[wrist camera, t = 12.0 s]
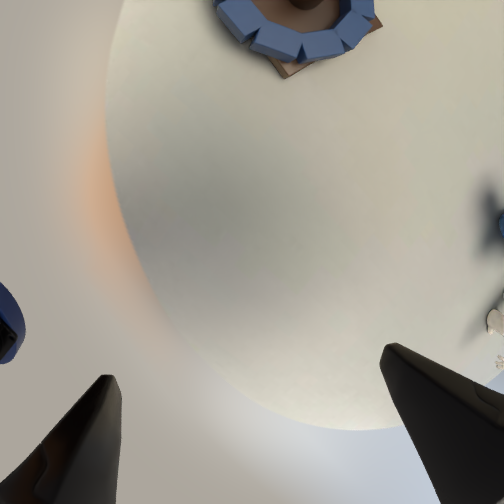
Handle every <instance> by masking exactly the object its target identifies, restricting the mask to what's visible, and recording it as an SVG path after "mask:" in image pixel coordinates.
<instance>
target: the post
mask: <svg viewBox="0 0 504 504" xmlns="http://www.w3.org/2000/svg"><path fill="white" fill-rule="evenodd" d="M251 1H252V2H253V4H254V5H255V6H256V7H257V8H258V9H259V11H260V12H261V13H262V14H263V15H264V17H265V18H266V19H267V20H268V21H271V22H274V23H277V24H279V25H282V26H285V27H287V28H290V29H292V30H295V31H297V32H300V33H306V32H313V31H320V30H328V29H329V28H330V27H331V26H332V25H333V23H334V22H335V21H336V20H337V19H338V18H339V17H340V6H339V0H251ZM369 23H371V24H372V25H373V26H372V27H371V29H370V30H369V31H368V32H367V33H366V34H368V33H371V32H373V31H375V30H377V29H379V28H381V27H383V25H382V24H381V22H380V21H379V19H378V18H377V16H376V15H375V19H373V20H371V21H369ZM366 34H365V35H366ZM253 37H254V36H253ZM253 37H252V38H253ZM266 56H267V57H268V58H269V60H270V61H271V62H272V64H273V65H274V66H275V68H276V69H277V70H278V72H279V73H280V74H281V76H282V77H283V78H284V79H286V78H288V77H290V76H292V75H293V74H295V73H297V72H298V71H300V70H302V69H303V68H305V67H307V66H308V65H310V64H312V63H314V62H315V61H313V62H308V63H303V64H298V61H297V59H294V60H293V61H291V62H289V63H287V62H284V61H281V60H279V59H276V58H273V57H271V56H268V55H266Z"/></svg>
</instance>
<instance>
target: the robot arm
mask: <svg viewBox="0 0 504 504" xmlns="http://www.w3.org/2000/svg"><path fill="white" fill-rule="evenodd" d="M17 339H18V335H17V334H16V332H15V331H14V330H13V329H12V328H11V327H10V326H9V325H8V324H7V323H6V322H5V321H4V320H3V319H2V318H1V317H0V361H1V359H2V358H3V357H4V356H5V355H6V353H7V352H8V351H9V350H10V348H11V347H12V346H13V345H14V344H15V343H16V341H17ZM380 369H381V372H382V374H383V377H384V379H385V382H386V385H387V387H388V390H389V393H390V395H391V398H392V400H393V403H394V405H395V407H396V409H397V411H398V413H399V415H400V417H401V419H402V421H403V423H404V425H405V427H406V429H407V431H408V433H409V435H410V437H411V439H412V441H413V443H414V445H415V448H416V450H417V452H418V454H419V456H420V458H421V460H422V462H423V465H424V466H425V469H426V471H427V473H428V475H429V478H430V480H431V482H432V484H433V487H434V489H436V490H435V492H436V494H437V496H438V498H439V501H440V503H441V504H504V394H501V393H498V392H496V391H494V390H491V389H489V388H487V387H485V386H483V385H480V384H478V383H476V382H473V381H472V380H470V379H468V378H466V377H464V376H462V375H460V374H458V373H456V372H454V371H452V370H450V369H448V368H446V367H444V366H442V365H440V364H438V363H436V362H434V361H432V360H430V359H428V358H426V357H424V356H422V355H420V354H418V353H416V352H414V351H412V350H410V349H408V348H406V347H404V346H402V345H400V344H398V343H391V344H387V345H386V346H385V347H384V350H383V353H382V356H381V359H380ZM121 405H122V397H121V391H120V389H119V386H118V384H117V381H116V379H115V377H114V376H113V375H101V376H100V377H99V378H98V379H97V380H96V381H95V382H94V383H93V384H92V385H91V387H90V388H89V389H88V390H87V391H86V392H85V393H84V394H83V395H82V396H81V398H80V399H79V400H78V401H77V402H76V403H75V404H74V405H73V407H72V408H71V409H70V410H69V411H68V412H67V413H66V414H65V415H64V417H63V418H62V419H61V420H60V421H59V422H58V423H57V425H56V426H55V427H54V428H53V429H52V430H51V431H50V432H49V434H48V435H47V436H46V437H45V438H44V439H43V441H42V442H41V444H39V445H38V446H37V447H36V449H34V451H33V452H32V453H31V454H30V455H29V456H28V457H27V458H26V460H24V461H23V462H22V463H21V464H20V465H19V466H18V467H17V468H16V469H15V470H14V471H13V472H12V473H11V474H10V475H9V476H7V477H6V479H4V480H3V481H2V482H1V483H0V504H116V490H117V477H118V465H119V456H120V446H121Z"/></svg>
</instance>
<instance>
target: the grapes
mask: <svg viewBox="0 0 504 504" xmlns="http://www.w3.org/2000/svg"><path fill="white" fill-rule="evenodd" d="M499 226H500V230H501V234H502V236H503V238H504V214H502V216H501V217H500V220H499Z"/></svg>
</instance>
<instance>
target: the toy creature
mask: <svg viewBox="0 0 504 504" xmlns="http://www.w3.org/2000/svg"><path fill="white" fill-rule="evenodd" d="M503 297H504V294H503ZM487 324H488V333H489V334H492V333H493V331H494V330H495V331H496V332H499V333H500V334H501V335H502V336H504V315H503V314H502V313H500V312H499V311H498V310H495V309H493V310H491V311H490V312H489V314H488V317H487ZM498 358H499V359H500V360H502V361H503V362H498V361H496V362H495V363H496V364H498V365H502V366H498V365H496V367H497V368H498V369H504V357H501V356H499V355H498Z"/></svg>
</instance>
